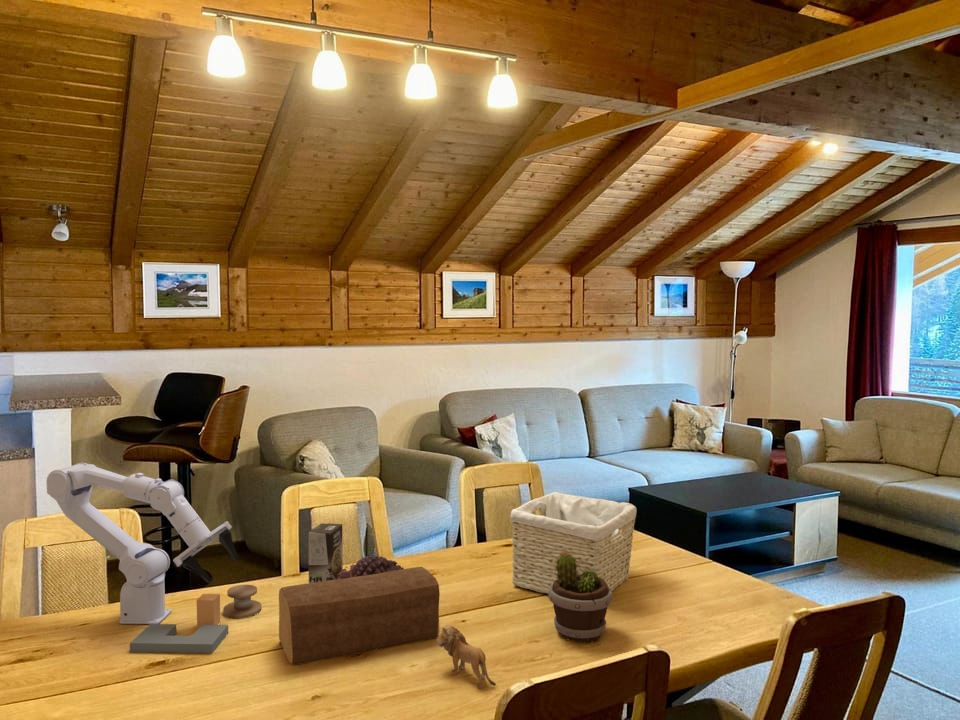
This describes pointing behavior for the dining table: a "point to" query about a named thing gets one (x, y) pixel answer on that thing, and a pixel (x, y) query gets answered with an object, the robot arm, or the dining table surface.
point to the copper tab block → (208, 610)
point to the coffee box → (325, 552)
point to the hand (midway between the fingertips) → (224, 571)
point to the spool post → (242, 602)
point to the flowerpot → (579, 601)
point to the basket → (571, 539)
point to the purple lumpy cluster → (370, 567)
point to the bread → (358, 614)
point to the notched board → (178, 639)
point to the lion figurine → (463, 653)
